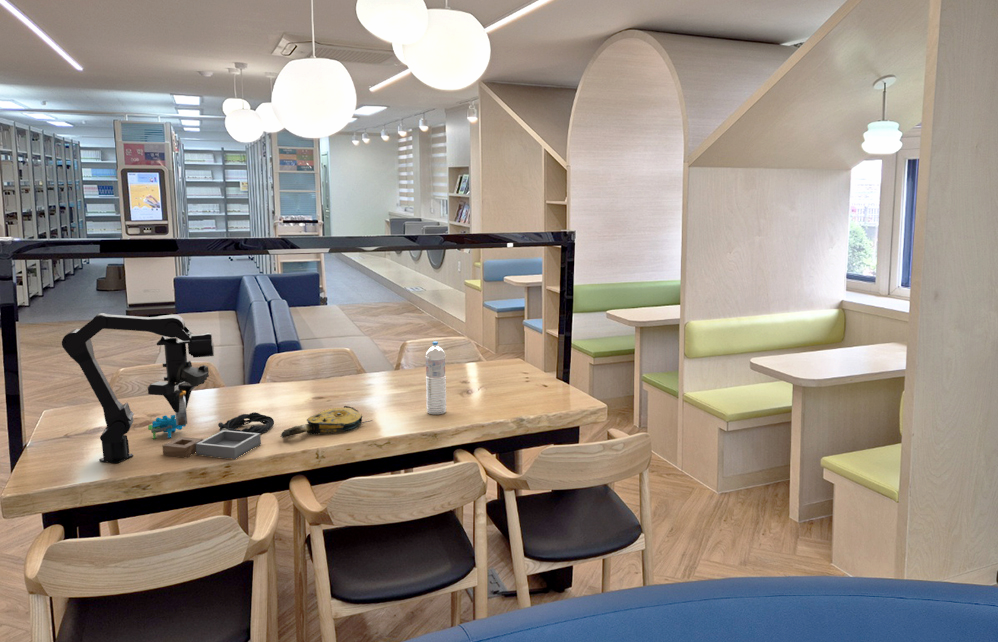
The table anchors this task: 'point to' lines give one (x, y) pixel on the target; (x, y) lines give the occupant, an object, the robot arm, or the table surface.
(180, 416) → the pin
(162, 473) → the table surface
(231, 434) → the tray
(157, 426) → the gear
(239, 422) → the cable
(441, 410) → the water bottle
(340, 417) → the pulley block
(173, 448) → the block
